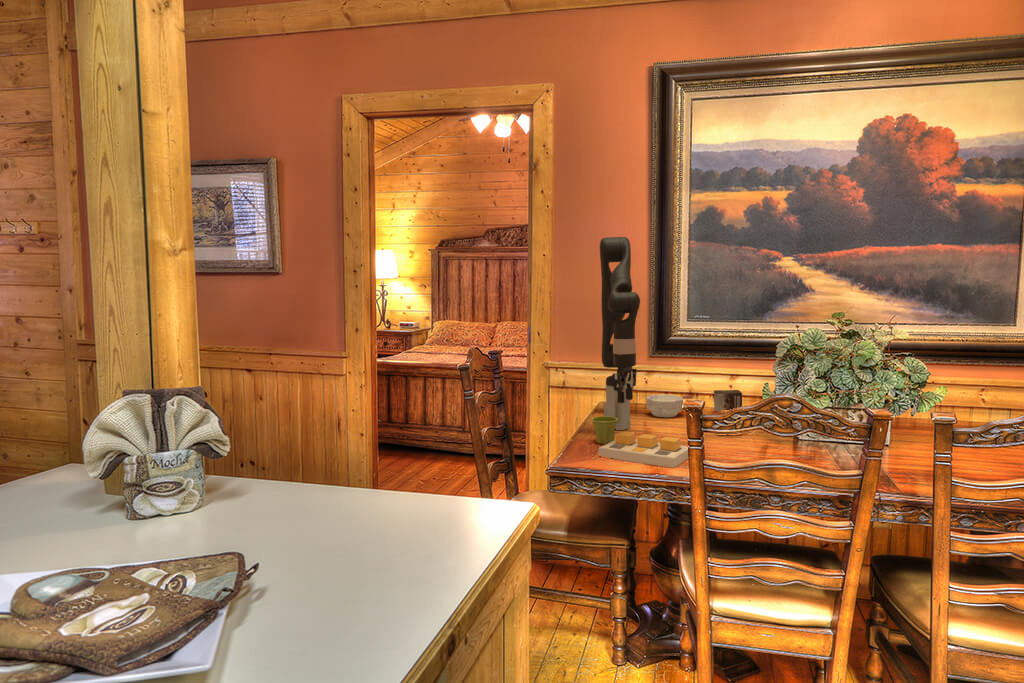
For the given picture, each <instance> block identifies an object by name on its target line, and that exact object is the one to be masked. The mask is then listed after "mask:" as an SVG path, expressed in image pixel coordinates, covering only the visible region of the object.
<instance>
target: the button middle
mask: <svg viewBox="0 0 1024 683" xmlns="http://www.w3.org/2000/svg"><path fill="white" fill-rule="evenodd" d="M636 437H637V439H636V440H637V444H638V446H642V447H649V448H652V447H654V446H656V445H658V443H659V440H658V439H659V438H658V435H655V434H647V433H643V434H641V435H638V436H636Z"/></svg>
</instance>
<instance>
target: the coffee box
mask: <svg viewBox="0 0 1024 683" xmlns="http://www.w3.org/2000/svg"><path fill="white" fill-rule="evenodd" d="M713 398H714V400H713V402H714V403H713V405H714V406H713V408H714V410H713V411H722V410H730V409H733V408H737V407H741V406H742V407H743V392H741V390H739V389H720V390H718V389H717V390H714V391H713ZM738 433H744V432H738ZM738 433H715V435H717V434H726V435H729V434H738Z"/></svg>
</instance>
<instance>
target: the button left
mask: <svg viewBox="0 0 1024 683" xmlns="http://www.w3.org/2000/svg"><path fill="white" fill-rule="evenodd" d="M636 437H637V436H636V432H632V431H631V432H630V431H623V430H621V431H620V432H618V433H616V434H615V440H616V443H619V444H626V445H630V444H632V443H634V442H636V440H637V439H636Z"/></svg>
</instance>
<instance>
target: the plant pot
mask: <svg viewBox="0 0 1024 683" xmlns="http://www.w3.org/2000/svg"><path fill="white" fill-rule="evenodd" d="M591 421H592V424H593V427H594V432H595V439H596V443H597V442H598V443H597V444H601V443H603V444H602V445H606V444H608V443H610V442H612V441H614V440H615V436H616V434H615V432H616V430H615V427H616V423H617V421H618V419H617V418H615V417H608V416H594V417H592V418H591Z"/></svg>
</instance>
